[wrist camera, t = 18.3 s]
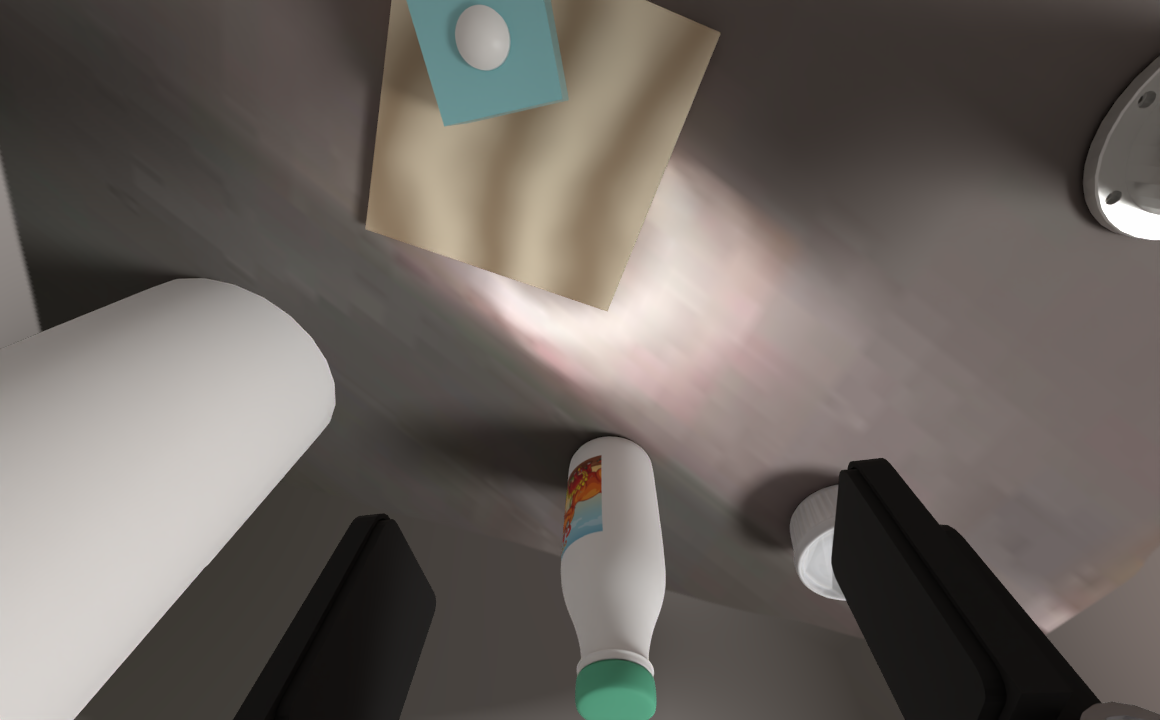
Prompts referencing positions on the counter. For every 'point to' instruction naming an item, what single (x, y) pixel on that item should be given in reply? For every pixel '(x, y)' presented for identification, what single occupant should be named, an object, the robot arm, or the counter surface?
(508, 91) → the teal knob cube
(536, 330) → the counter surface
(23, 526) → the white stepped round block
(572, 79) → the board
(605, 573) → the milk bottle
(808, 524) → the ramekin
